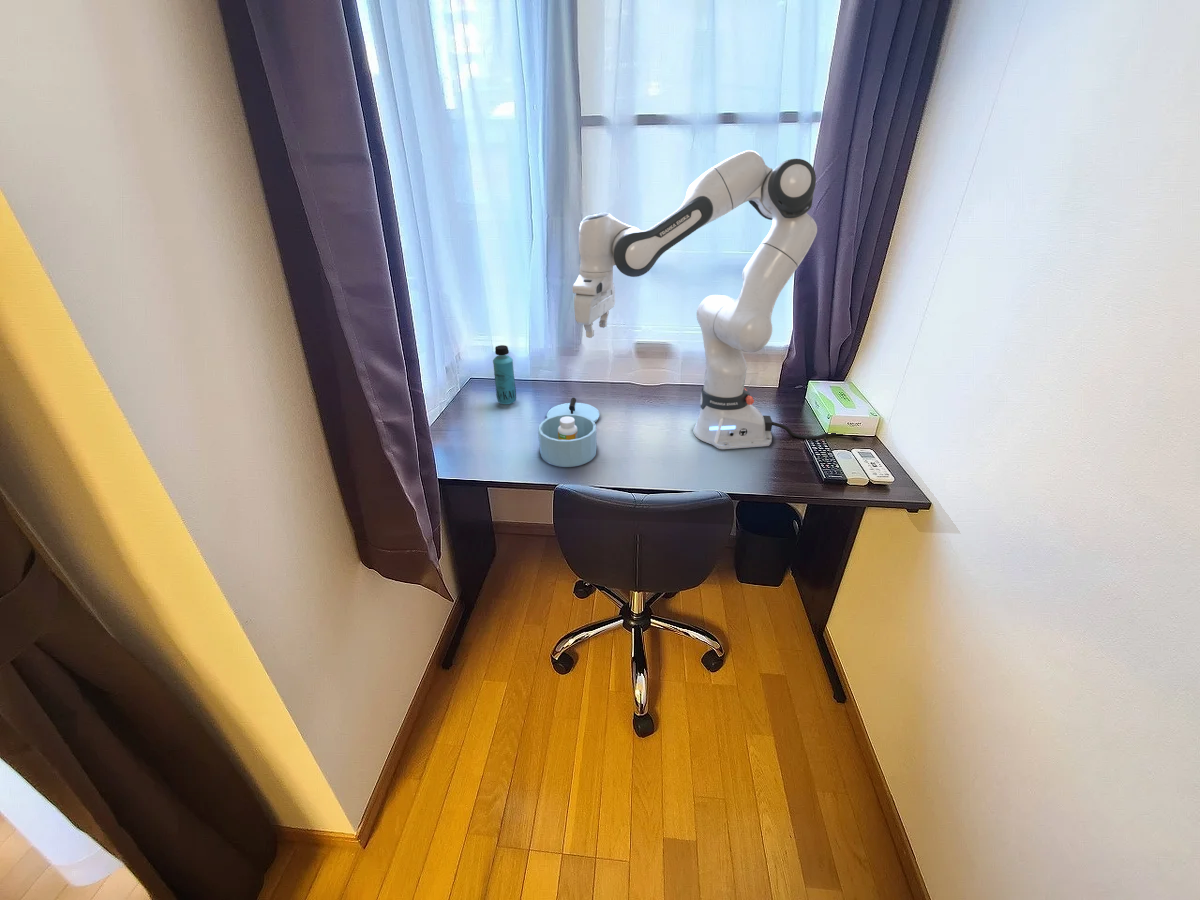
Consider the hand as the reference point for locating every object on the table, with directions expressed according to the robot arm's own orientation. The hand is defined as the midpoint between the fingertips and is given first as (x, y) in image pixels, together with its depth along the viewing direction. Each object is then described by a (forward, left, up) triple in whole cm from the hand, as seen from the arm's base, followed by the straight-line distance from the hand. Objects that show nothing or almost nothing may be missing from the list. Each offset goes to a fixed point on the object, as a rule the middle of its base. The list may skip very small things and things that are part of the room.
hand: (596, 331), depth 140 cm
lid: (+8, -4, -28) cm, 30 cm away
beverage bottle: (+31, -12, -29) cm, 44 cm away
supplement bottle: (+7, +17, -29) cm, 34 cm away
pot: (+7, +17, -29) cm, 34 cm away
